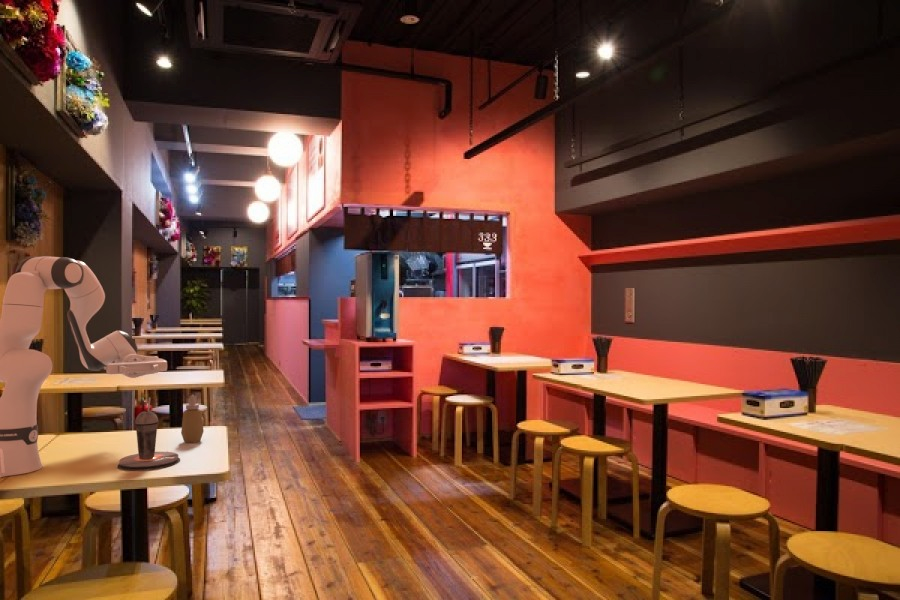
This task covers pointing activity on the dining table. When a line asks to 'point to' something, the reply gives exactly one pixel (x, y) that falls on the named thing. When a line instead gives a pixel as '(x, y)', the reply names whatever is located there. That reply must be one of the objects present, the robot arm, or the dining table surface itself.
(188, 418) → the squeeze bottle
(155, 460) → the dark round disc
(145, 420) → the beverage cup
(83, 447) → the dining table surface
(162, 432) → the dining table surface
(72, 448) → the dining table surface
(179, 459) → the base
